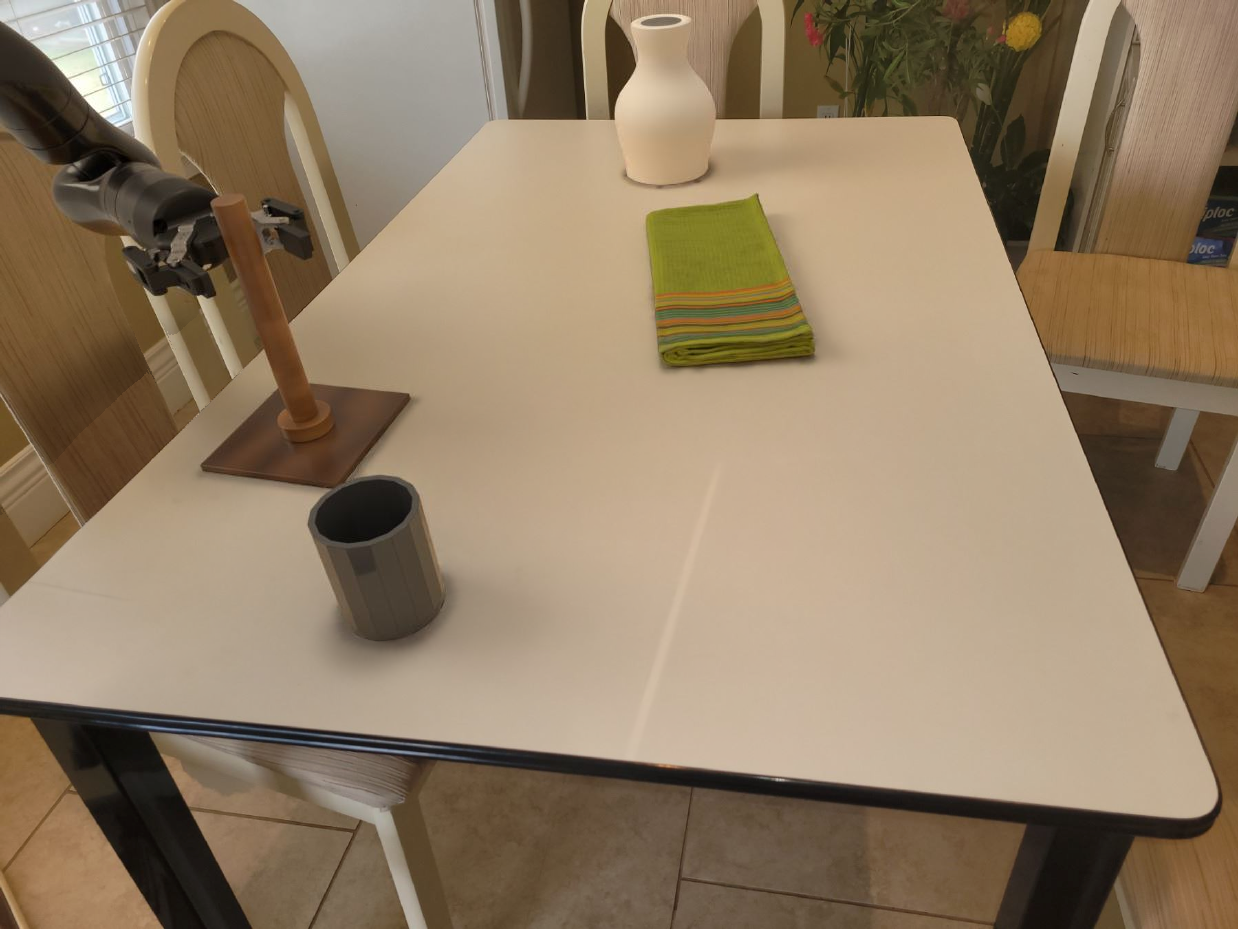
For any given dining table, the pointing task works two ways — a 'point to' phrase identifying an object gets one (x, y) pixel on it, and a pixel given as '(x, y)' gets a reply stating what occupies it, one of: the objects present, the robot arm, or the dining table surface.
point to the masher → (270, 322)
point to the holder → (378, 556)
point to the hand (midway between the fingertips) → (259, 266)
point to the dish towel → (722, 286)
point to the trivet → (311, 462)
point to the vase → (664, 106)
